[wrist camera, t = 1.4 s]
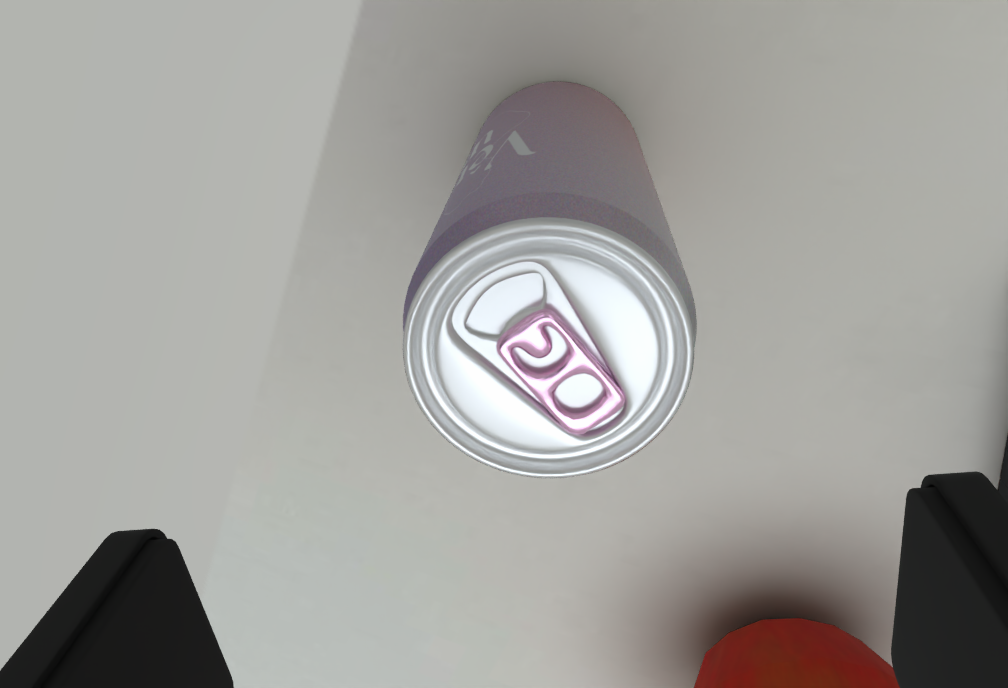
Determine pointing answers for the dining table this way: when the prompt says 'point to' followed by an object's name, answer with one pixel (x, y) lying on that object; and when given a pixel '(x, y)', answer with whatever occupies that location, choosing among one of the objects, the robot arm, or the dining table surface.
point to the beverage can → (551, 294)
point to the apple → (793, 658)
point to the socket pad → (1004, 476)
